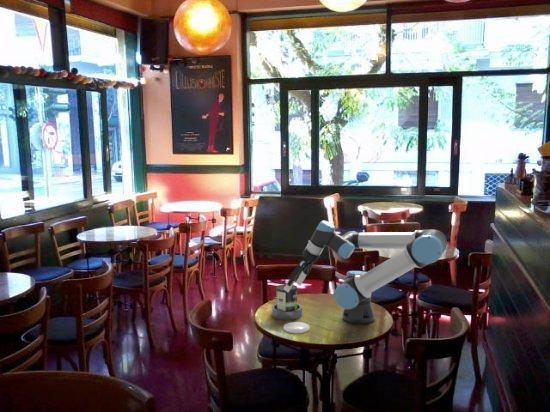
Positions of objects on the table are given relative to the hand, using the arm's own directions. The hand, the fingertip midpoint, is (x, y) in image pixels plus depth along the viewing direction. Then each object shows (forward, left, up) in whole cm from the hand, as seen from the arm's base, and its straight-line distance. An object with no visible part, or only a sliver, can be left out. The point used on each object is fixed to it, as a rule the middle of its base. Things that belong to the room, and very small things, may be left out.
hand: (292, 287), depth 252 cm
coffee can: (+5, -5, -16) cm, 18 cm away
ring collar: (+5, -5, -16) cm, 17 cm away
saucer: (-6, +10, -16) cm, 20 cm away
